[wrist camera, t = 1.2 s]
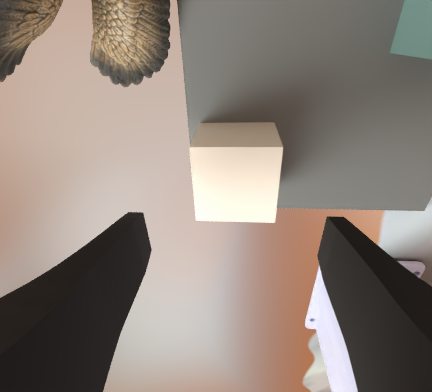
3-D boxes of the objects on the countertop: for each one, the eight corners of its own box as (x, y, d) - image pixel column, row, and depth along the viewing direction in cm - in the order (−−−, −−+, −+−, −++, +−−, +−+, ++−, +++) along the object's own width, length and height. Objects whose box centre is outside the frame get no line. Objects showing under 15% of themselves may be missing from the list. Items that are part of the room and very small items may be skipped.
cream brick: (268, 186, 18) (274, 222, 15) (204, 185, 18) (195, 220, 15) (274, 122, 16) (283, 147, 12) (200, 122, 16) (189, 147, 13)
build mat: (421, 207, 18) (424, 210, 18) (196, 203, 20) (195, 206, 19) (626, -231, 9) (642, -242, 8) (163, -179, 10) (160, -186, 10)
